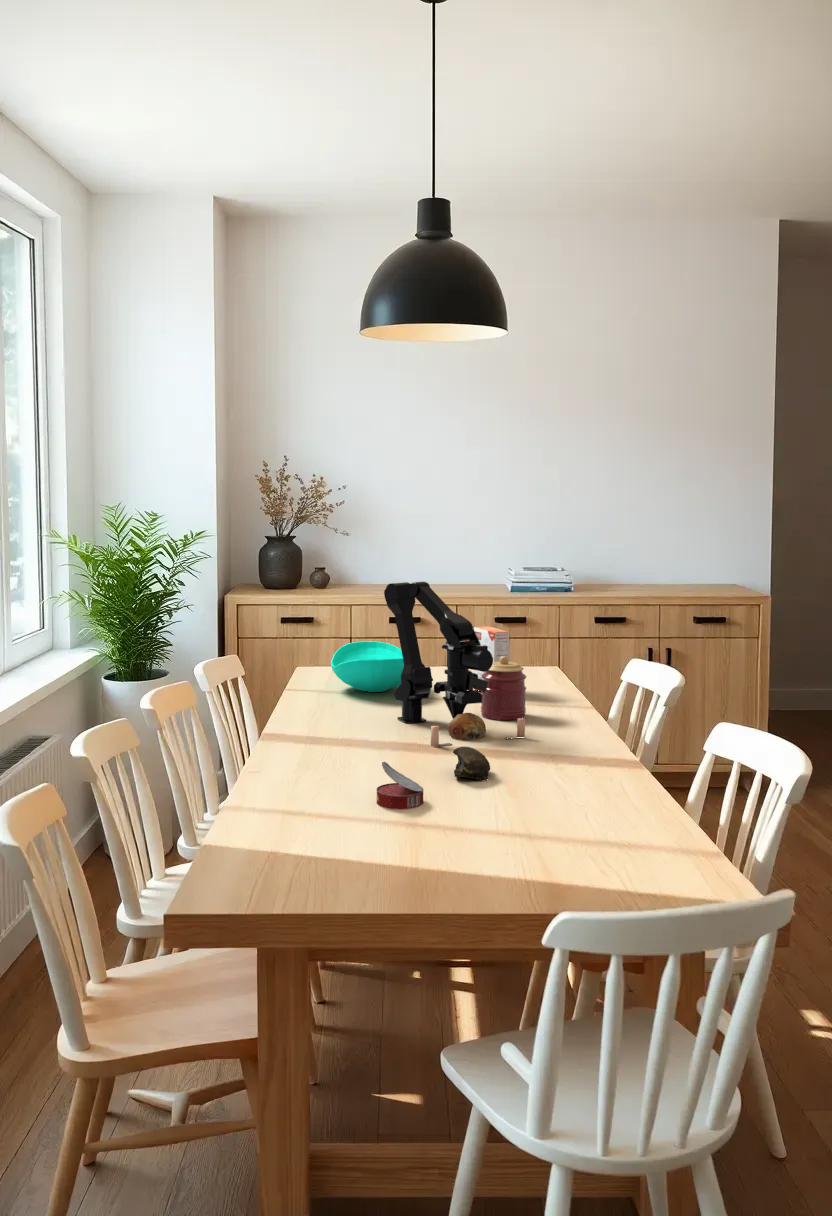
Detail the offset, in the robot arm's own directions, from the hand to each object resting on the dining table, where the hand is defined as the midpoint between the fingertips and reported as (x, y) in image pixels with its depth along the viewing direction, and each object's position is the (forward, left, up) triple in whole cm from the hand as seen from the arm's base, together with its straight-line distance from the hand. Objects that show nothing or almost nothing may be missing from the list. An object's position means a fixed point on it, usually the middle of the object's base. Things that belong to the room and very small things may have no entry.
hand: (457, 723), depth 296 cm
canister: (-13, +21, -2) cm, 25 cm away
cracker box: (-46, +34, -2) cm, 57 cm away
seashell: (+42, -17, -3) cm, 45 cm away
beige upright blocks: (+13, 0, -2) cm, 13 cm away
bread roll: (+6, 0, -2) cm, 7 cm away
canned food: (+56, -40, -3) cm, 69 cm away
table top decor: (-64, +1, -2) cm, 64 cm away
